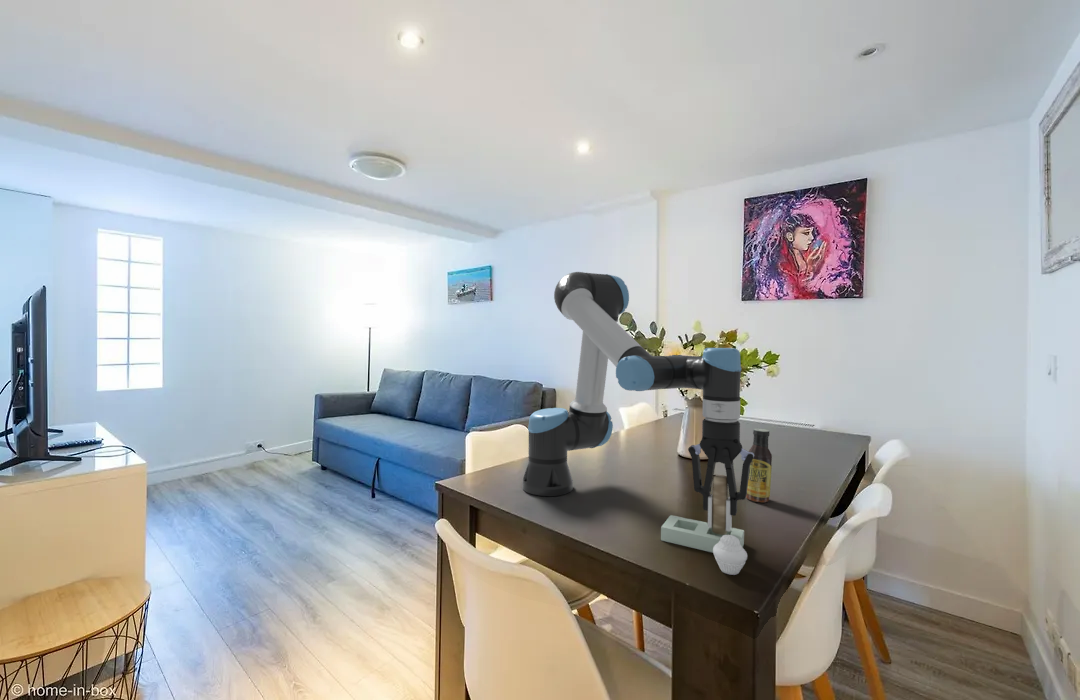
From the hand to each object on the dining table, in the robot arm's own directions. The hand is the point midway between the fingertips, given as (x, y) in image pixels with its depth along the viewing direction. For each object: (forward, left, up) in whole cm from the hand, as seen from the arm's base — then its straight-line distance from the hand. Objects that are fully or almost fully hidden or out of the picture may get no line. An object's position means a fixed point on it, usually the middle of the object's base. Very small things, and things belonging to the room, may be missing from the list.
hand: (719, 527), depth 97 cm
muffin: (+3, -10, -4) cm, 11 cm away
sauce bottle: (+4, +36, -4) cm, 37 cm away
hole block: (-4, 0, -4) cm, 5 cm away
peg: (0, 0, -1) cm, 1 cm away
